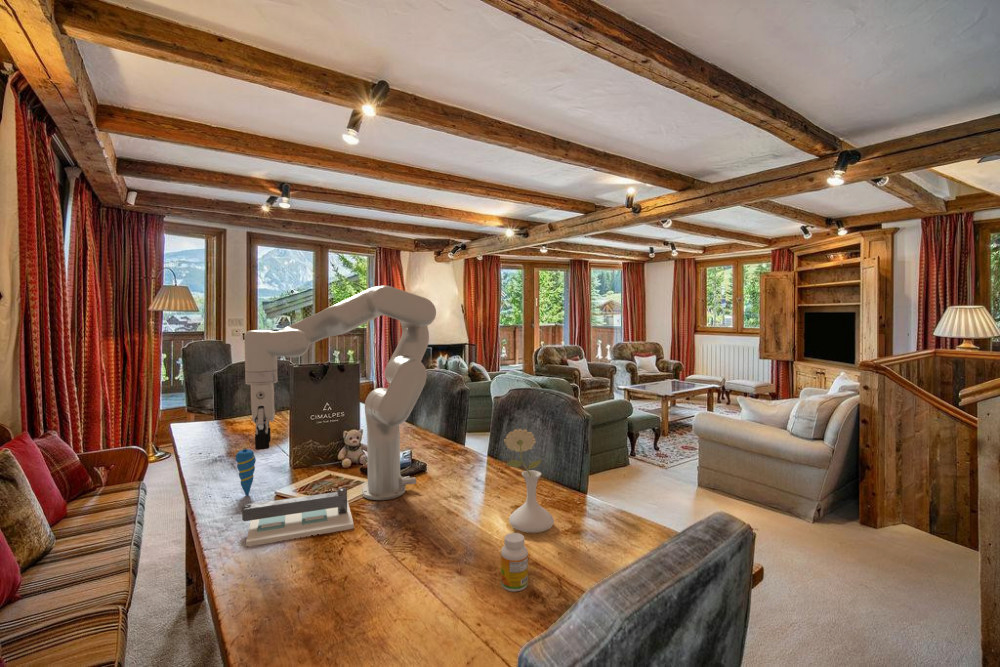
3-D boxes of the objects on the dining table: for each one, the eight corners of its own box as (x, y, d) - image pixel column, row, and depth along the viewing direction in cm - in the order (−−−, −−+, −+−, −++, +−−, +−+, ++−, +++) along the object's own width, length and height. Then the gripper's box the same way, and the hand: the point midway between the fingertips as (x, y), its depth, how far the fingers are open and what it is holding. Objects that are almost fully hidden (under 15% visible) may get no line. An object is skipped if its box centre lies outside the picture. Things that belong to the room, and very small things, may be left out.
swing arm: (346, 508, 129) (346, 486, 128) (347, 513, 126) (347, 490, 125) (243, 524, 119) (242, 501, 119) (241, 529, 116) (241, 505, 116)
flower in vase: (558, 520, 125) (558, 426, 123) (548, 540, 114) (548, 437, 113) (510, 513, 129) (510, 422, 128) (496, 532, 118) (496, 432, 117)
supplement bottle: (499, 577, 98) (499, 531, 98) (525, 576, 99) (525, 530, 98) (502, 593, 93) (502, 544, 92) (529, 591, 93) (529, 543, 93)
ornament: (247, 499, 139) (246, 448, 138) (232, 497, 140) (231, 447, 139) (260, 492, 144) (259, 443, 143) (245, 491, 145) (244, 442, 144)
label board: (347, 504, 135) (347, 498, 135) (353, 528, 120) (353, 521, 120) (252, 519, 126) (252, 512, 125) (246, 546, 111) (246, 539, 111)
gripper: (276, 381, 118) (277, 453, 119) (278, 372, 134) (280, 436, 135) (241, 382, 115) (243, 456, 116) (248, 374, 131) (250, 439, 132)
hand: (263, 445), depth 125 cm, fingers open, 5 cm apart
